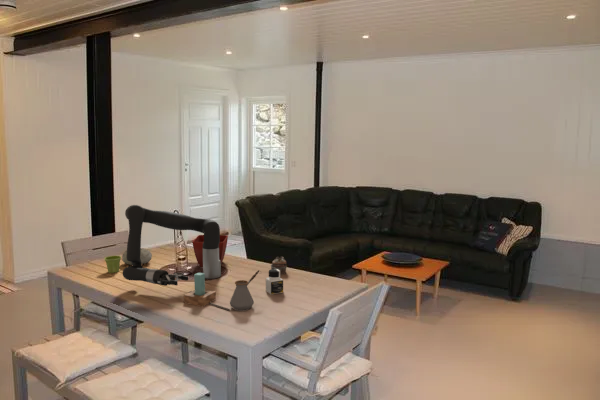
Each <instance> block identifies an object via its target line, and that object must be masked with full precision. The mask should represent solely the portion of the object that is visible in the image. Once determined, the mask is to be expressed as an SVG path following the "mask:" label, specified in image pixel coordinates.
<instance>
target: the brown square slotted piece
mask: <svg viewBox="0 0 600 400" xmlns="http://www.w3.org/2000/svg"><path fill="white" fill-rule="evenodd" d="M216 297H217V295H216V291H214V290H209V289H205V294H204V295H202V296H199V295H195V289H194V290H191V291H190V292H188V293H185V294H183V303H184V304H188V305H194V306H199V307H204V306H206V305H209V302H210V303H213V301H215V300H216Z"/></svg>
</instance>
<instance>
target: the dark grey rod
mask: <svg viewBox="0 0 600 400" xmlns="http://www.w3.org/2000/svg"><path fill="white" fill-rule="evenodd" d="M208 305H212V306H214V307H217V308H220V309H223V310H226V311H229V312H230V308H227V307H225V306H222V305H219V304H216V303H213V302H209V303H208Z"/></svg>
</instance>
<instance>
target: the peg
mask: <svg viewBox="0 0 600 400" xmlns="http://www.w3.org/2000/svg"><path fill="white" fill-rule="evenodd" d="M193 278H194V281H193V282H194V283H193V285H194V290H195V295H199V296H202V295H204V294H205V290H206V281H205V280H206V278H205V273H203V272H197V273H195V274H194V275H193Z"/></svg>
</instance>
